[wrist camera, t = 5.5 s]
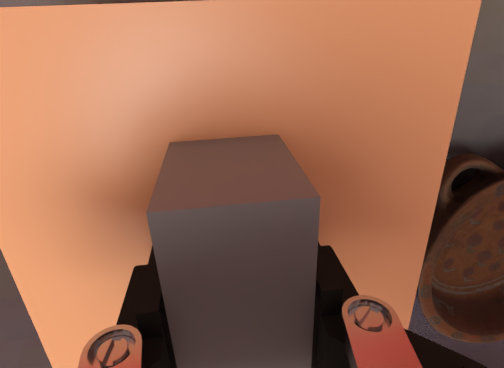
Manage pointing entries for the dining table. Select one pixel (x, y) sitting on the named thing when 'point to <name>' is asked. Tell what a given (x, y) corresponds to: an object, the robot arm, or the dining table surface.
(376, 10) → the lid
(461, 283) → the dish
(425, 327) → the dining table surface
